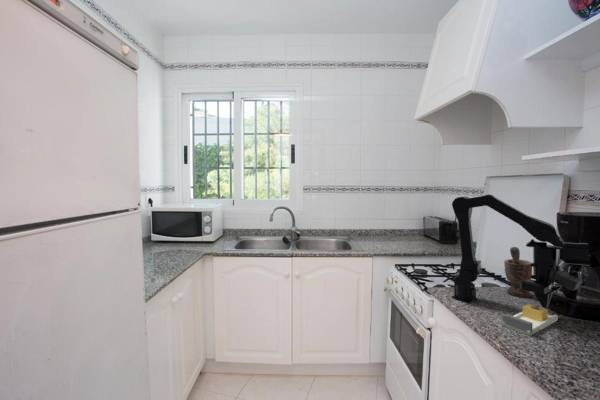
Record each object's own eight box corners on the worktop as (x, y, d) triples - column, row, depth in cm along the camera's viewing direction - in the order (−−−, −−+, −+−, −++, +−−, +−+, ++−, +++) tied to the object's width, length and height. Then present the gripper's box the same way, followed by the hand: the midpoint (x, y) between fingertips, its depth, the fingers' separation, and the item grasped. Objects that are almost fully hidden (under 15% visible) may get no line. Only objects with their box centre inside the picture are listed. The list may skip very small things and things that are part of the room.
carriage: (522, 316, 89) (522, 304, 89) (528, 313, 91) (528, 301, 91) (541, 322, 85) (541, 310, 85) (547, 319, 87) (547, 307, 86)
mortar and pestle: (538, 302, 101) (537, 248, 100) (509, 299, 105) (508, 247, 104) (528, 292, 111) (528, 242, 110) (502, 289, 115) (502, 241, 114)
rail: (502, 325, 85) (502, 314, 85) (530, 312, 94) (530, 302, 94) (529, 336, 79) (529, 324, 79) (557, 320, 88) (557, 309, 88)
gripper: (564, 271, 79) (565, 325, 80) (589, 261, 88) (589, 310, 88) (519, 263, 89) (519, 311, 89) (546, 255, 98) (546, 298, 98)
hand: (545, 307), depth 91 cm, fingers closed
